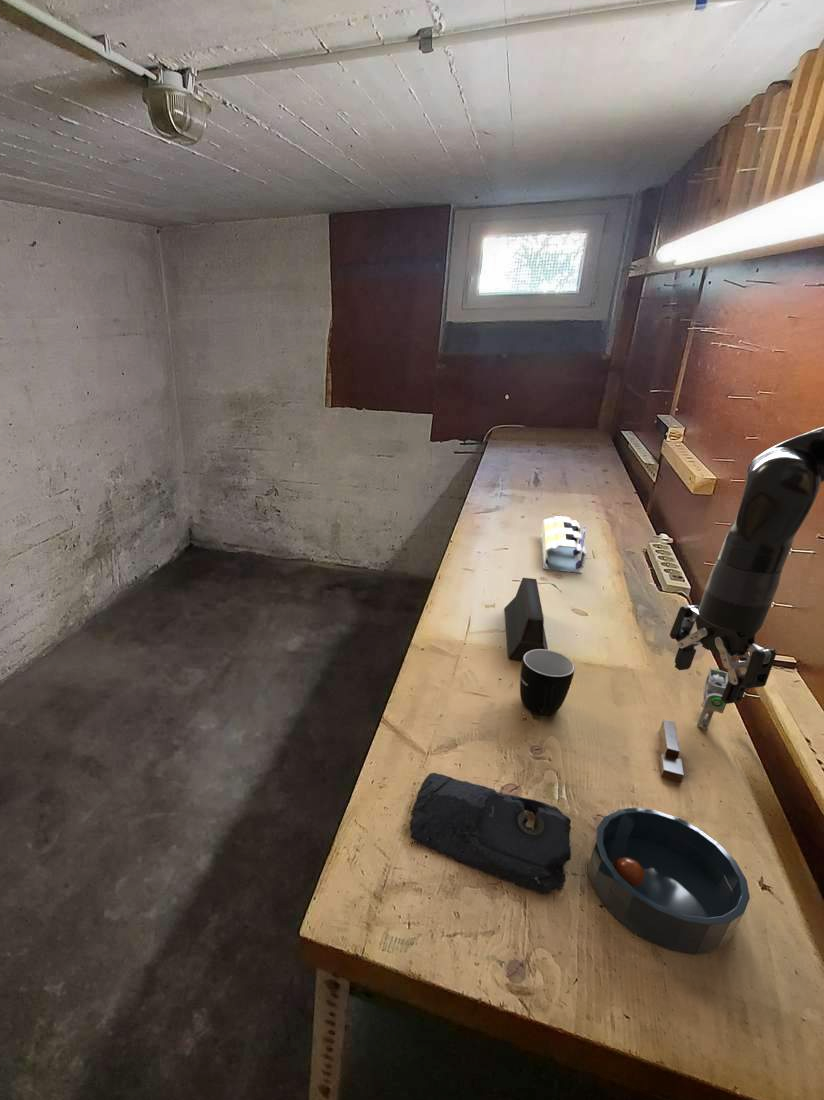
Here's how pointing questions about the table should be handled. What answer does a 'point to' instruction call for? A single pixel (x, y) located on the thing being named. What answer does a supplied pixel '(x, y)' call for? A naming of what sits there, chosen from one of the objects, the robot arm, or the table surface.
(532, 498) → the table surface
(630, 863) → the bead
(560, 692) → the mug
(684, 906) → the bowl
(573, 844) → the table surface
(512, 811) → the dark slate chunk
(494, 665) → the table surface
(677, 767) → the dark brown wooden bar
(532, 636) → the barrier
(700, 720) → the mechanical component
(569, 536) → the diorama
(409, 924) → the table surface
